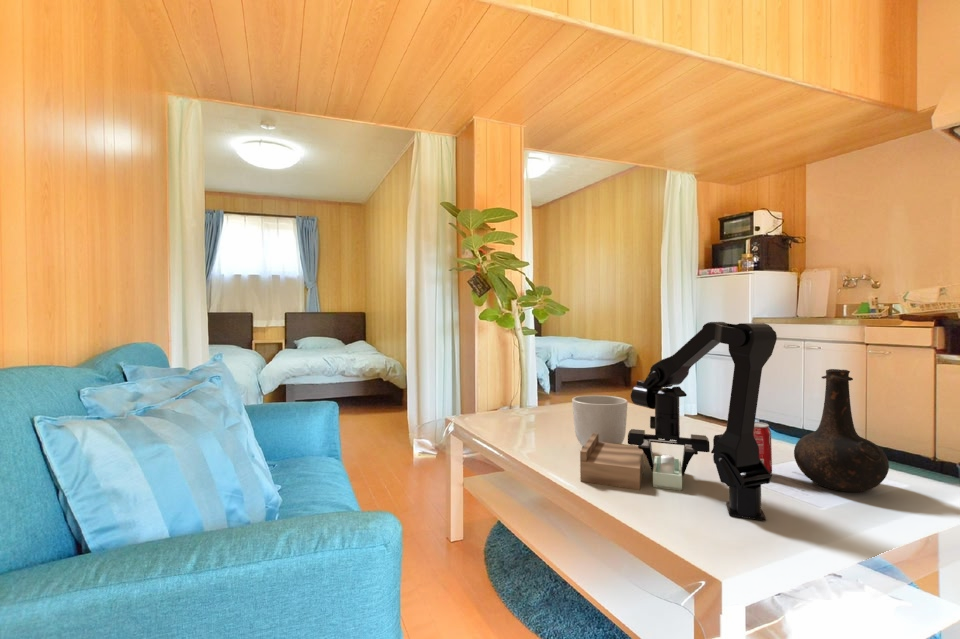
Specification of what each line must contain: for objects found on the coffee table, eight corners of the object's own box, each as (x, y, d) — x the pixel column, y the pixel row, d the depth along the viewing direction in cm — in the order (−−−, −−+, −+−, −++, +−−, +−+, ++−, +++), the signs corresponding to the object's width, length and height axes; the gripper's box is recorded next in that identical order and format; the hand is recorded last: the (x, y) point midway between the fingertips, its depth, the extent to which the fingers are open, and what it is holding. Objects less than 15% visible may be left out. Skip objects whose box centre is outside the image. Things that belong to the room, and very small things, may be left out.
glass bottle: (843, 503, 96) (842, 375, 96) (776, 475, 114) (775, 366, 114) (911, 497, 99) (910, 372, 99) (835, 471, 117) (834, 365, 117)
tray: (682, 490, 104) (681, 471, 104) (652, 486, 107) (652, 467, 107) (681, 472, 117) (680, 454, 117) (655, 468, 119) (654, 451, 119)
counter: (639, 489, 105) (639, 458, 105) (580, 481, 111) (580, 451, 111) (644, 464, 123) (644, 437, 123) (593, 458, 129) (593, 432, 129)
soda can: (777, 479, 111) (776, 427, 111) (745, 477, 112) (745, 426, 113) (765, 470, 118) (764, 421, 118) (735, 468, 119) (735, 420, 119)
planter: (595, 458, 129) (595, 406, 129) (561, 444, 144) (561, 397, 144) (640, 451, 136) (639, 401, 136) (603, 438, 151) (603, 393, 151)
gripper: (706, 409, 115) (706, 468, 115) (631, 404, 123) (631, 460, 123) (709, 417, 105) (710, 483, 105) (627, 411, 113) (627, 473, 113)
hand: (667, 474), depth 112 cm, fingers closed on tray, 6 cm apart
